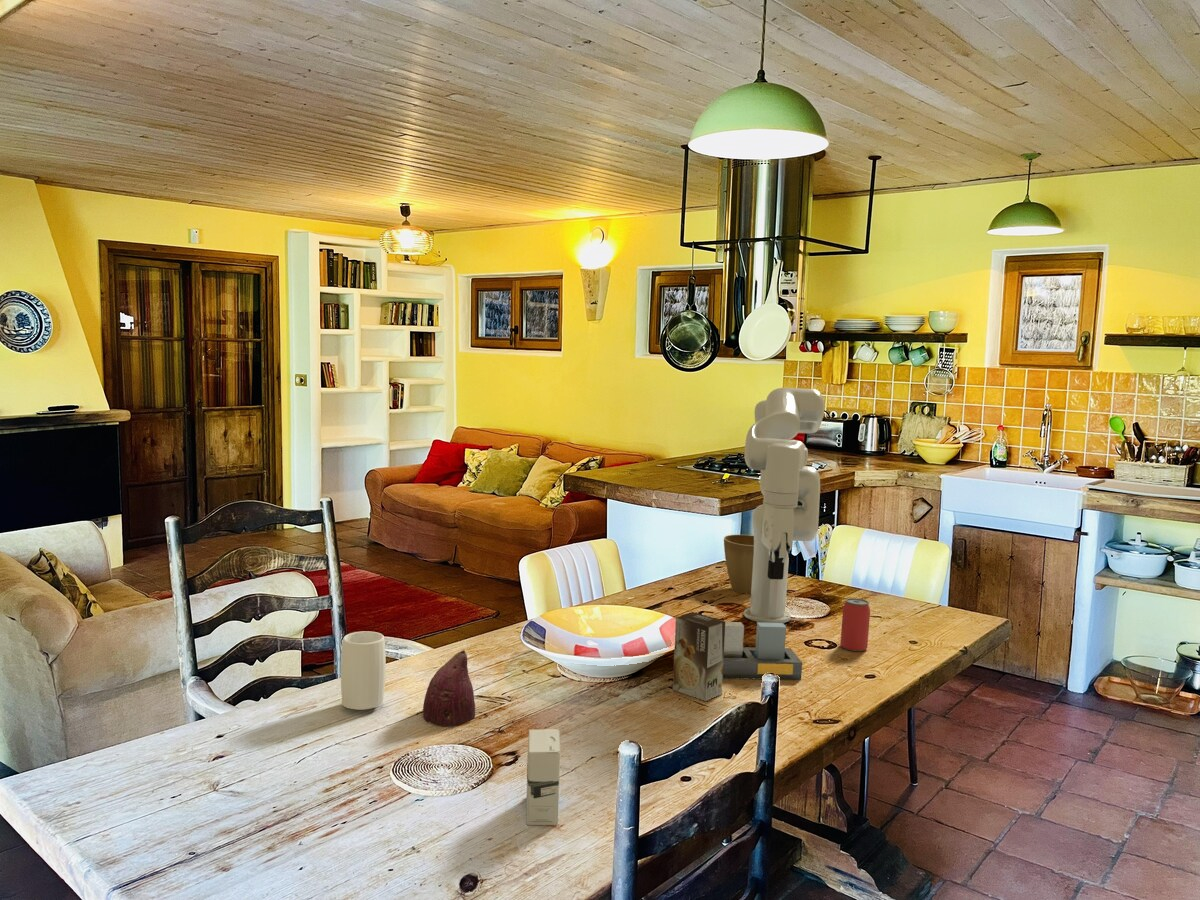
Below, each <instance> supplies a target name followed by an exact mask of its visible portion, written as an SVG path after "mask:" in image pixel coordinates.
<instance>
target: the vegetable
mask: <svg viewBox="0 0 1200 900" xmlns="http://www.w3.org/2000/svg"><path fill="white" fill-rule="evenodd" d="M474 692H475V691H474V687H473V684H472V681H471V679H470V675H469V669H468V655H467V653H466V651H465V649H463V650H461V651H458V652H456V654H454V655H453V656H452V657H451V658H450V659H449V660H448V661H447V662H446V663H445V664H444V665H442V666H440V668H439V669H438V670H437V671H436V672H435V674H434V676H433V677H432V678H431V680H430V681H429V683H428V686H427V689H426V693H425V694H424V695H425V696H424V699H423V703H422V705H423V706H422V718H423V719H424V720H425V722H428V723H430V724H431V725H435V726H438V727H447V728H449V727H457V726H460V725H463V724H466V723H469V722H471V721H473V720H474V719H475V717H476V702H475V693H474Z"/></svg>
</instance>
